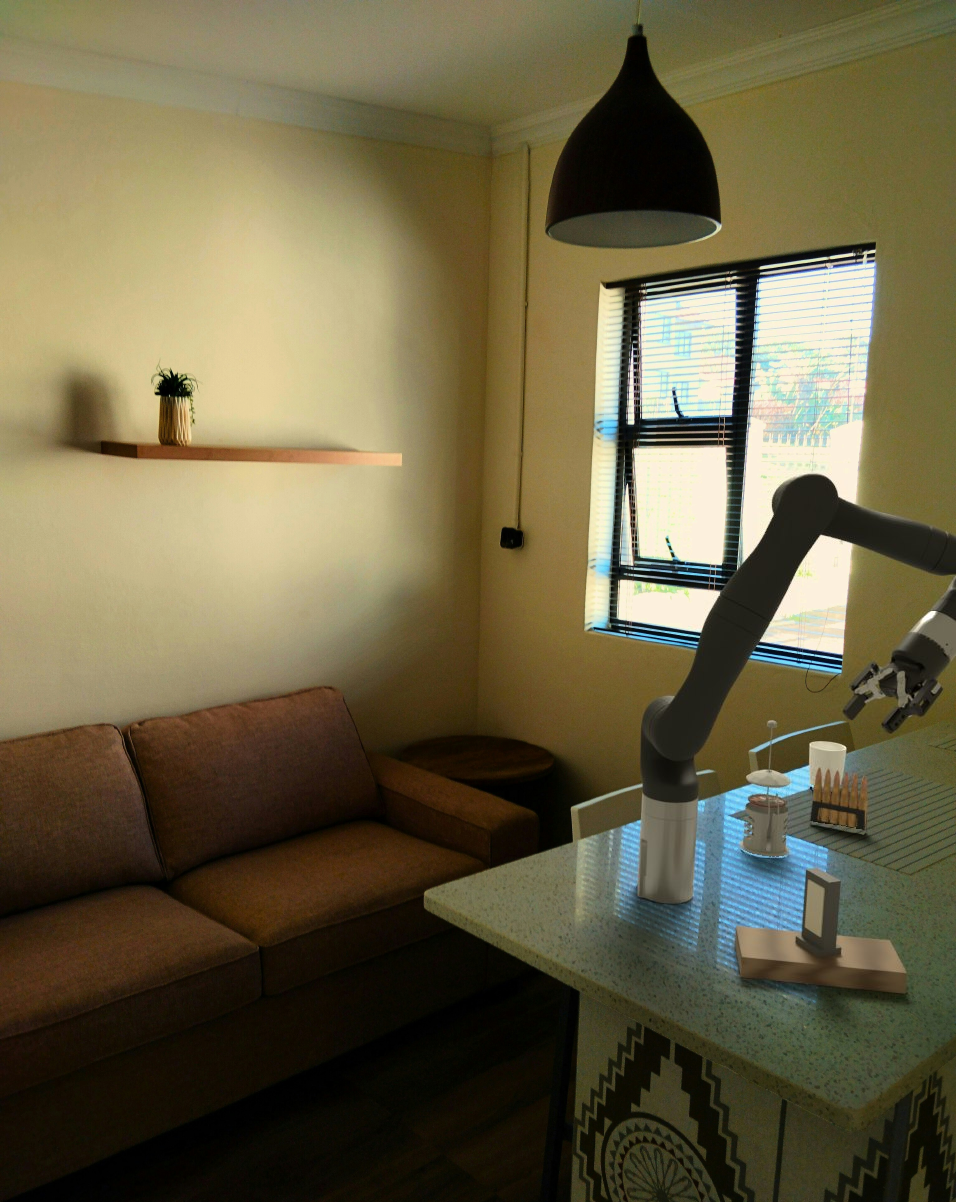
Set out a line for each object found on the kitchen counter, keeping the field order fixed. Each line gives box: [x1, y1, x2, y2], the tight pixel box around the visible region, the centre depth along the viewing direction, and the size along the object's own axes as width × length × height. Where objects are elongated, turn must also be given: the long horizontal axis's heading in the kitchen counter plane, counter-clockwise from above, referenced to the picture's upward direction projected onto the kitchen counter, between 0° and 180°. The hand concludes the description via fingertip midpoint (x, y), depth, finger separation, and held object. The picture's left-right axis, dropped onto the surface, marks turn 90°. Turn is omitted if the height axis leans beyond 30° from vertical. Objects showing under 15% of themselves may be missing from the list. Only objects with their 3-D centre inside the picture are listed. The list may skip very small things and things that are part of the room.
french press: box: [739, 719, 792, 857], centre depth 190 cm, size 10×12×25 cm
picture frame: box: [795, 867, 842, 958], centre depth 145 cm, size 4×5×11 cm
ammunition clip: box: [809, 767, 868, 830], centre depth 204 cm, size 11×2×12 cm, turn 57°
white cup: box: [808, 740, 847, 787], centre depth 230 cm, size 8×8×10 cm
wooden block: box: [734, 925, 908, 994], centre depth 146 cm, size 22×10×3 cm, turn 81°
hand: (865, 723), depth 157 cm, fingers open, 8 cm apart
